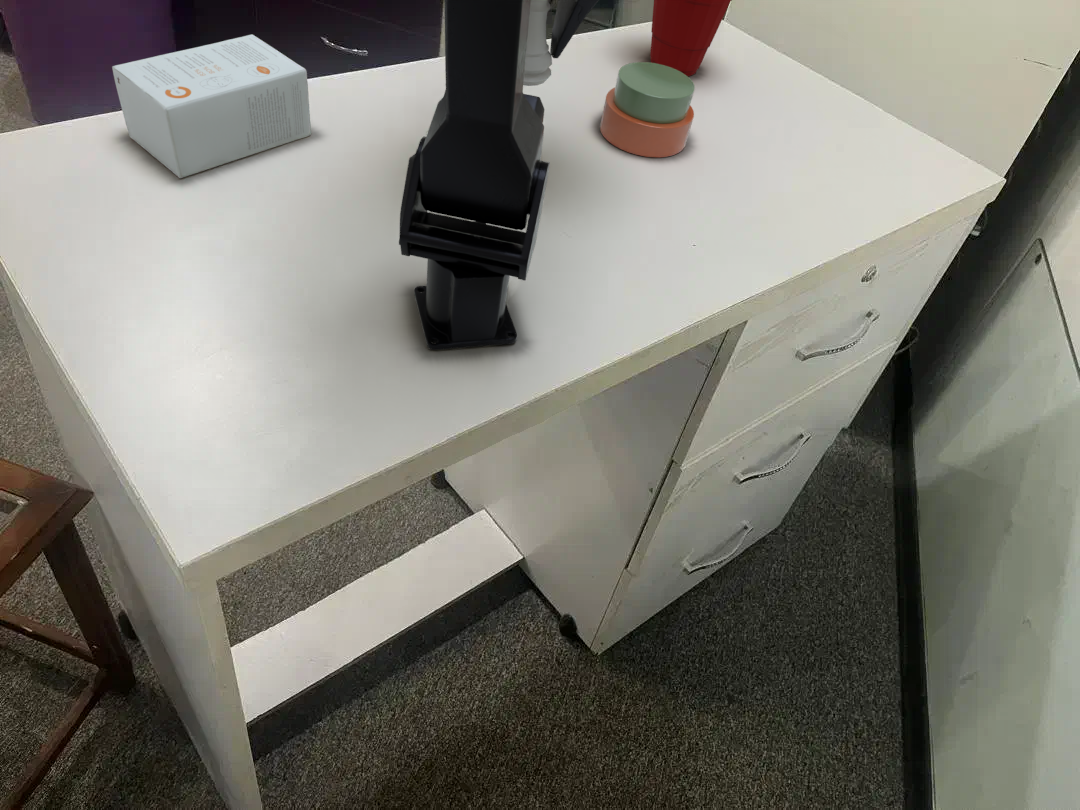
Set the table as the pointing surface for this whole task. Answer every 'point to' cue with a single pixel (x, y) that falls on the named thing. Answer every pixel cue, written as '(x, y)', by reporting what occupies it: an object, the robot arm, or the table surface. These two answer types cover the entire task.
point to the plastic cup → (684, 31)
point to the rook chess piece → (537, 45)
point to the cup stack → (648, 110)
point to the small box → (213, 103)
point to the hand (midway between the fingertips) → (527, 55)
